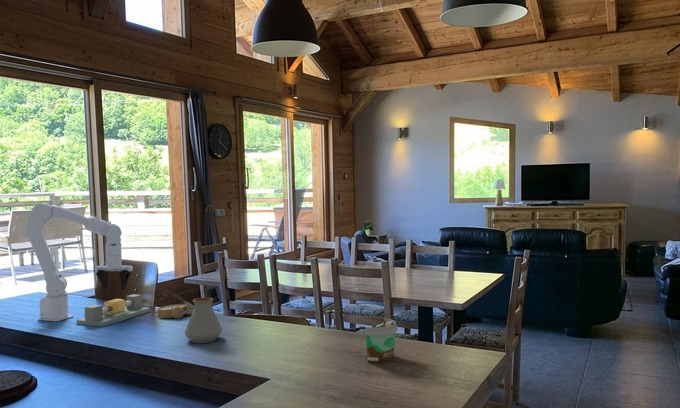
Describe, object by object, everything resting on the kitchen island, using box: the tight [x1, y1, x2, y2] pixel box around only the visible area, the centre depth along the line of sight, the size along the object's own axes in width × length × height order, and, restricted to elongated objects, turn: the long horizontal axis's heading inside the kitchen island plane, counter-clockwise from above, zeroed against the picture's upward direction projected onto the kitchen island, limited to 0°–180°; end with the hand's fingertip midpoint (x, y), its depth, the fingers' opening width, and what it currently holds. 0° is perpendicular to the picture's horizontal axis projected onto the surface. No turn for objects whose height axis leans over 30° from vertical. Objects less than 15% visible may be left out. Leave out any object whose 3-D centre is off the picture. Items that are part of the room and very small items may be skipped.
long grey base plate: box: [76, 294, 151, 328], centre depth 190 cm, size 12×24×6 cm, turn 160°
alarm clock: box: [154, 303, 194, 320], centre depth 192 cm, size 11×5×15 cm
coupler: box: [103, 298, 126, 316], centre depth 190 cm, size 4×7×5 cm, turn 160°
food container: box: [364, 317, 398, 364], centre depth 138 cm, size 12×6×10 cm, turn 148°
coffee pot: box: [162, 289, 223, 344], centre depth 161 cm, size 21×12×15 cm, turn 67°
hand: (114, 289), depth 197 cm, fingers open, 7 cm apart
